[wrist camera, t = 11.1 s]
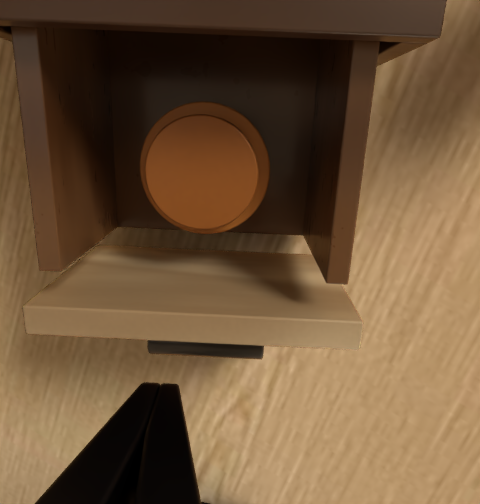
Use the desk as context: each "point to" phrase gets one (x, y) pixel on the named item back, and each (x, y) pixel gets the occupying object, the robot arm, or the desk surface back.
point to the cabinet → (243, 19)
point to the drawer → (146, 216)
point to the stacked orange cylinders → (204, 167)
